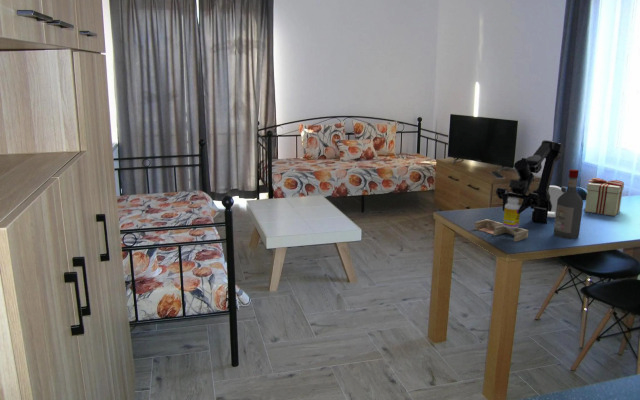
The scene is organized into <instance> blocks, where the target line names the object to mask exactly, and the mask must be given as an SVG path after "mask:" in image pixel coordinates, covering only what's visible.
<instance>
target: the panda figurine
mask: <svg viewBox="0 0 640 400" xmlns="http://www.w3.org/2000/svg"><path fill="white" fill-rule="evenodd" d="M548 191H549V194H550V201H551V204H552V209H551V211H548V215H547V218H555V217H556V208H557V200H558V198H559V197H560V196H561V195H562V194H563V193H565V192H566V191H567V187H566V186H561V187H560V186H557V185H550V186H549V190H548Z"/></svg>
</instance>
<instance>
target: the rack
mask: <svg viewBox="0 0 640 400" xmlns="http://www.w3.org/2000/svg"><path fill="white" fill-rule="evenodd" d="M474 230H475V231H479V232H483V233H487V234H491V235H493V236H498V235H502V234H505V233H506V234H509V235H512V236H514V237H513V241H514V242H518V241H522V240H525V239H528V237H529V229H526V228H525V229H524V228H521V227H518V228H515V229H511V228H506V227H504V226H503V223H502V222H499V221H497V220H496V221H495V220H492V219H487V218H485V219H482V220H477V221H475V222H474Z"/></svg>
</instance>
